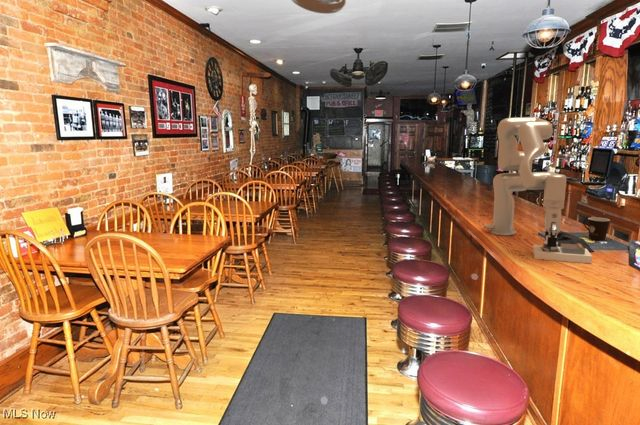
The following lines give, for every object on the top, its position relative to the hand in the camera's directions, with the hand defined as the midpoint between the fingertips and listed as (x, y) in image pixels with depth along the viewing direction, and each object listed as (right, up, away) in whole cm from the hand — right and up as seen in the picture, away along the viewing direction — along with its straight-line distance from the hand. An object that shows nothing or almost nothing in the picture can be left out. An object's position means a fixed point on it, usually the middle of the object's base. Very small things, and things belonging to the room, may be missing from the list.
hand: (550, 243), depth 167 cm
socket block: (+4, -6, -1) cm, 7 cm away
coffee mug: (+36, 0, +24) cm, 43 cm away
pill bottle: (0, -6, +1) cm, 6 cm away
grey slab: (+7, -3, -3) cm, 8 cm away
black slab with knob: (+18, -3, +15) cm, 24 cm away
